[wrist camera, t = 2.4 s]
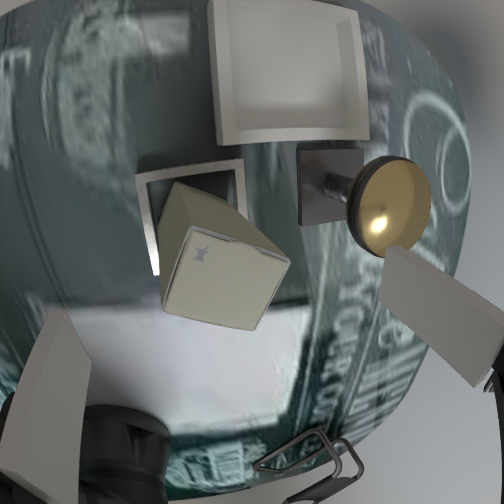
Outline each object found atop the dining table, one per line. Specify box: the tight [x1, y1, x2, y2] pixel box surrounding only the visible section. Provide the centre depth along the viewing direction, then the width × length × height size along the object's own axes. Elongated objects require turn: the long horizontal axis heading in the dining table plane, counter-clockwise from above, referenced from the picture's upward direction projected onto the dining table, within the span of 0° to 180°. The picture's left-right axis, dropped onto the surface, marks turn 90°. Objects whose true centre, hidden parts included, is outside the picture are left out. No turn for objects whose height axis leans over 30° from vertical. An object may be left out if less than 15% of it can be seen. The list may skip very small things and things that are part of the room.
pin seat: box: [135, 157, 248, 275], centre depth 23 cm, size 8×8×2 cm
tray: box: [207, 0, 370, 146], centre depth 20 cm, size 13×13×3 cm
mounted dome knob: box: [296, 149, 431, 258], centre depth 22 cm, size 7×7×10 cm
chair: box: [252, 428, 364, 504], centre depth 37 cm, size 13×17×22 cm
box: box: [158, 181, 291, 331], centre depth 18 cm, size 5×4×13 cm
